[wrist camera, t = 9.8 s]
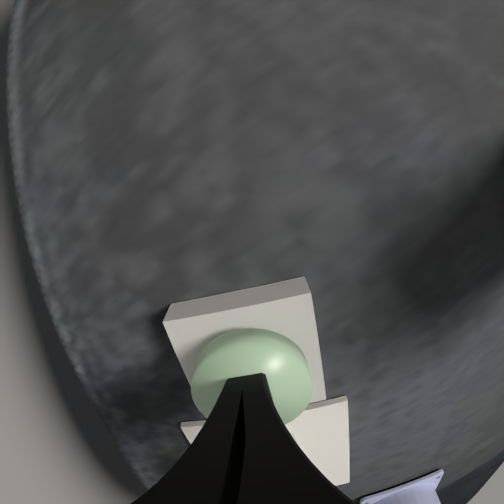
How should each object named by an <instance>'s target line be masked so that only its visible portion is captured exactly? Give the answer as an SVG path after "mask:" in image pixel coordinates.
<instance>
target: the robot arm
mask: <svg viewBox="0 0 504 504" xmlns="http://www.w3.org/2000/svg"><path fill="white" fill-rule="evenodd" d="M443 474H444V471H443V470H442V469H440V470H438V471H436V472H433V473H431V474H429V475H426V476H424V477H421V478H419V479H416V480H414V481H411V482H409V483H406V484H403V485H400V486H398V487H395V488H392V489H389V490H386V491H383V492H380V493H376V494H373V495H370V496H366V497H364V498H362V499H361V500H360V504H441V503H440V501H439V498H438V496H437V494H436V491H435V489H436V487H437V485H438V483H439V481H440V479H441V477H442V476H443ZM131 504H356V503H355V502H353V501H352V500H351V499H350V498H348V497H347V496H346V495H345V494H344V493H342V492H341V491H340V490H339V489H338V488H337V487H336V486H335V485H333V484H332V483H331V482H330V481H329V480H328V479H327V478H326V477H325V476H324V475H323V474H322V473H321V472H320V470H319V469H318V468H317V467H316V466H315V465H314V464H313V463H312V462H311V461H310V459H309V458H308V457H307V456H306V455H305V453H304V452H303V451H302V449H301V448H300V447H299V445H298V444H297V443H296V441H295V440H294V438H293V437H292V436H291V434H290V432H289V431H288V429H287V428H286V426H285V424H284V423H283V421H282V419H281V417H280V416H279V414H278V412H277V409H276V407H275V405H274V402H273V399H272V395H271V392H270V388H269V385H268V381H267V377H266V374H264V373H257V374H252V375H246V376H240V377H233V378H228V379H227V380H226V382H225V384H224V386H223V389H222V391H221V393H220V395H219V397H218V399H217V401H216V403H215V405H214V407H213V409H212V411H211V413H210V415H209V416H208V418H207V420H206V422H205V423H204V425H203V427H202V428H201V430H200V431H199V433H198V434H197V436H196V438H195V439H194V441H193V442H192V443H191V445H190V446H189V448H188V449H187V450H186V452H185V453H184V454H183V455H182V457H181V458H180V459H179V460H178V461H177V463H176V464H175V465H174V466H173V467H172V468H171V469H170V470H169V471H168V472H167V473H166V475H164V476H163V477H162V478H161V479H160V480H159V481H158V482H157V483H156V484H155V485H154V486H153V487H151V488H150V489H149V490H148V491H147V492H146V493H144V494H143V495H142V496H141V497H139V498H138V499H137V500H135V501H134V502H133V503H131Z"/></svg>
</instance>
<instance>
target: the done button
mask: <svg viewBox="0 0 504 504" xmlns="http://www.w3.org/2000/svg"><path fill="white" fill-rule="evenodd" d="M257 373H264V374H266V377H267V381H268V385H269V388H270V392H271V395H272V399H273V402H274V405H275V407H276V409H277V412H278V414H279V416H280V417H281V419H282V421H283V423H284V424H287V423H289V422H291V421H292V420H294V419H296V418H297V417H298V416H299V415H300V414H301V413H302V412H303V411H304V410H305V409H306V407H307V406H308V404H309V402H310V400H311V397H312V391H313V386H312V381H311V377H310V372H309V368H308V364H307V361H306V358H305V355H304V353H303V352H302V350H301V349H300V348H299V347H298V346H297V344H296V343H294V342H293V341H292V340H290V339H289V338H287V337H285V336H284V335H281V334H279V333H277V332H273V331H270V330H265V329H255V328H249V329H239V330H234V331H230V332H227V333H225V334H222V335H220V336H218V337H216V338H215V339H213V340H212V341H210V342H209V343H208V344H207V345H206V346H205V347H204V348H203V349H202V351H201V352H200V354H199V356H198V358H197V361H196V365H195V370H194V374H193V379H192V384H191V395H192V399H193V401H194V404H195V405H196V407H197V409H198V410H199V411H200V412H201V413H202V414H203V415H204V416H205V417H206V418H208V416H209V415H210V413H211V411H212V409H213V407H214V405H215V403H216V401H217V399H218V397H219V395H220V393H221V391H222V389H223V386H224V384H225V382H226V380H227V379H228V378H233V377H240V376H246V375H252V374H257Z"/></svg>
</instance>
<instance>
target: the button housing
mask: <svg viewBox="0 0 504 504" xmlns="http://www.w3.org/2000/svg"><path fill="white" fill-rule="evenodd" d="M163 324H164V327H165V329H166V332H167V334H168V337H169V339H170V341H171V344H172V346H173V348H174V351H175V353H176V355H177V358H178V360H179V362H180V365H181V367H182V369H183V371H184V373H185V376H186V378H187V380H188V382H189V384H190V386H191V384H192V379H193V374H194V370H195V365H196V361H197V358H198V356H199V354H200V352H201V351H202V349H203V348H204V347H205V346H206V345H207V344H208V343H209V342H210V341H212V340H213V339H215V338H216V337H218V336H220V335H222V334H225V333H227V332H230V331H234V330H239V329H249V328H255V329H265V330H270V331H273V332H277V333H279V334H281V335H284V336H285V337H287V338H289V339H290V340H292V341H293V342H294V343H296V344H297V346H298V347H299V348H300V349H301V350H302V352H303V353H304V355H305V358H306V361H307V364H308V368H309V372H310V377H311V381H312V386H313V391H312V397H311V400H310V402H309V403H312V402H317V401H321V400H325V399H326V393H325V385H324V377H323V370H322V362H321V355H320V348H319V341H318V334H317V328H316V321H315V315H314V309H313V302H312V296H311V292H310V289H309V287H308V284H307V282H306V279H305V277H304V276H303V277H299V278H294V279H290V280H285V281H281V282H276V283H271V284H267V285H262V286H257V287H253V288H248V289H243V290H238V291H233V292H229V293H224V294H219V295H214V296H209V297H204V298H198V299H193V300H188V301H183V302H178V303H172V304H171V305H170V307H169V309H168V311H167V313H166V315H165V318H164V320H163ZM206 419H207V418H206Z"/></svg>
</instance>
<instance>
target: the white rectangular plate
mask: <svg viewBox="0 0 504 504" xmlns="http://www.w3.org/2000/svg"><path fill="white" fill-rule="evenodd" d="M205 422H206V420H202V421H190V422H181V426H180V428H181V429H182V431H183V433H184V434H185V436H186V437H187V439H188V441H189V442H190V444H191V443H192V442H193V441H194V439H195V438H196V436H197V434H198V433H199V431H200V430H201V428H202V427H203V425H204V423H205ZM285 426H286V428H287V429H288V431H289V432H290V433H292V434H293V435H294V436H295V437H296V439H297V443H298V445H299V447H300V448H301V449H302V451H303V452H304V453H305V455H306V456H307V457H308V458H309V459H310V461H311V462H312V463H313V464H314V465H315V466H316V467H317V468H318V469H319V470H320V472H321V473H322V474H323V475H324V476H325V477H326V478H327V479H328V480H329V481H330V482H331V483H332V484H333V485H335V486H337V485H341V484H345V483H349V422H348V400H347V398H346V395H345V396H341V397H338V398H334V399H329V400H325V401H321V402H317V403H312V404H308V406H307V407H306V409H305V410H304V411H303V412H302V413H301V414H300V415H299V416H298V417H297V418H296V419H294V420H292V421H291V422H289V423H287V424H285Z"/></svg>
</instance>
